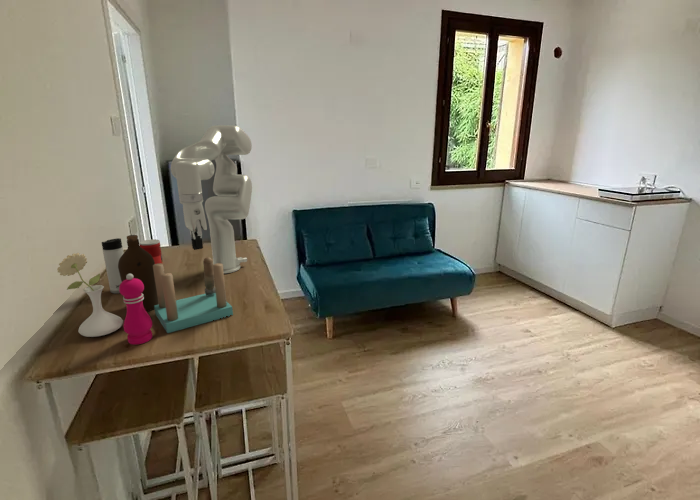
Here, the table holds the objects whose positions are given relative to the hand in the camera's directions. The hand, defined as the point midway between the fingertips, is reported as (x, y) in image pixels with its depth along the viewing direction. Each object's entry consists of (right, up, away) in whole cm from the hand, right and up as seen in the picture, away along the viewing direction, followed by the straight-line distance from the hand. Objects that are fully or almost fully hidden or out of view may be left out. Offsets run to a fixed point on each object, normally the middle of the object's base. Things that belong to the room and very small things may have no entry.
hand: (197, 248), depth 140 cm
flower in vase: (-20, -25, -24) cm, 40 cm away
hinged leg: (+6, -16, -5) cm, 18 cm away
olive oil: (-16, -20, -7) cm, 26 cm away
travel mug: (-31, -16, +7) cm, 36 cm away
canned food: (-33, -8, +34) cm, 48 cm away
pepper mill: (-6, -26, -28) cm, 39 cm away
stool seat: (+4, -22, -12) cm, 25 cm away
